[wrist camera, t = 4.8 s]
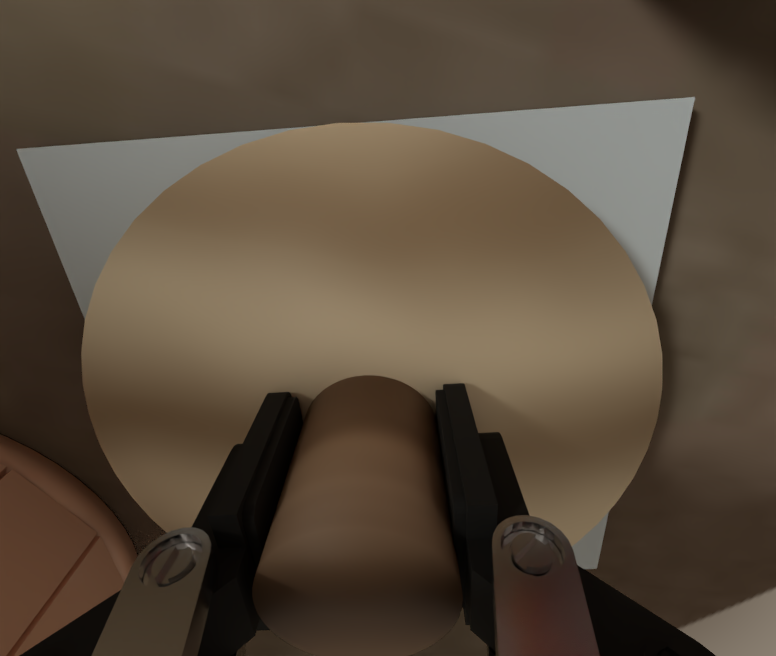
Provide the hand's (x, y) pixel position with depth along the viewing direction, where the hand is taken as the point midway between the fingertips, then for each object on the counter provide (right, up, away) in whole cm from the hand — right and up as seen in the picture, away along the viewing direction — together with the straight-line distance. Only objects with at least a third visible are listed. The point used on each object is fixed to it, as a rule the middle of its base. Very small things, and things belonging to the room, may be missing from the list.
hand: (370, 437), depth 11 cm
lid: (0, +1, +1) cm, 1 cm away
